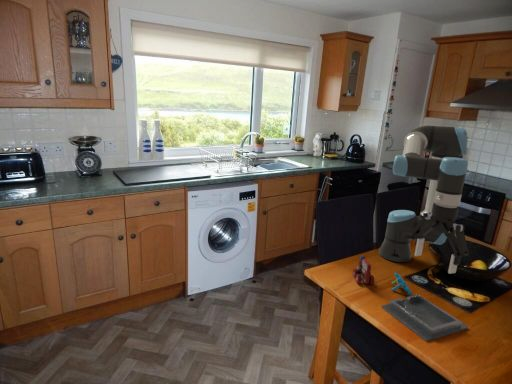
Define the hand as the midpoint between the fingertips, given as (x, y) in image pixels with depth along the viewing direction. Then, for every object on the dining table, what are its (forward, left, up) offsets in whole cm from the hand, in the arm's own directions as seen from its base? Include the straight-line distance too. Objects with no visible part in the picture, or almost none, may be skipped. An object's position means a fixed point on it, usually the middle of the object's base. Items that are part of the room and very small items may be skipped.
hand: (433, 263), depth 117 cm
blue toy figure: (-8, -15, -22) cm, 28 cm away
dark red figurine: (+3, -29, -21) cm, 36 cm away
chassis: (0, 0, -21) cm, 21 cm away
